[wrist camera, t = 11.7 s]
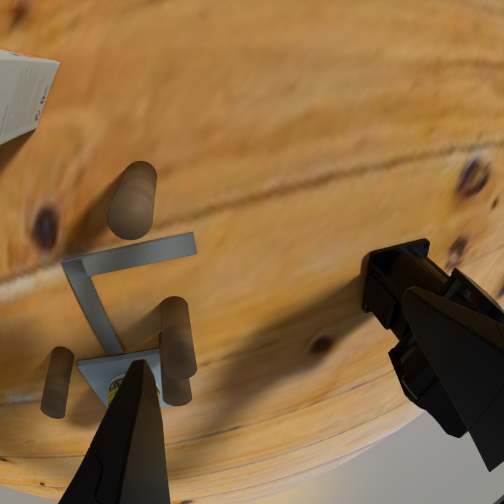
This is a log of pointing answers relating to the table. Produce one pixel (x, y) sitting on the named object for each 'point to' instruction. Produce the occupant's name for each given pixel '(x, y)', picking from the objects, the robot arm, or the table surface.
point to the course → (130, 228)
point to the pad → (117, 371)
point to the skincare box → (23, 91)
